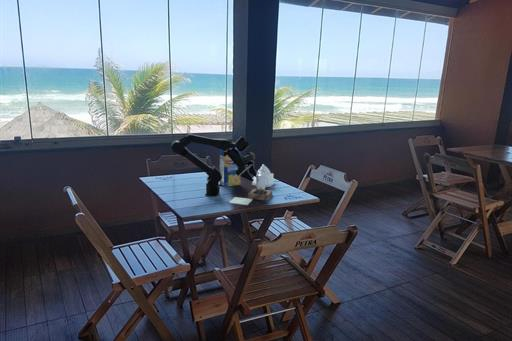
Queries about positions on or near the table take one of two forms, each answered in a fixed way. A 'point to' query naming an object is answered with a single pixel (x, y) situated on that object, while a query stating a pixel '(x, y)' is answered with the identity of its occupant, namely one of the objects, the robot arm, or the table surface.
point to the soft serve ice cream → (267, 179)
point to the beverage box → (228, 170)
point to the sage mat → (240, 201)
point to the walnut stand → (260, 195)
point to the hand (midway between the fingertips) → (255, 178)
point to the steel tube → (260, 184)
